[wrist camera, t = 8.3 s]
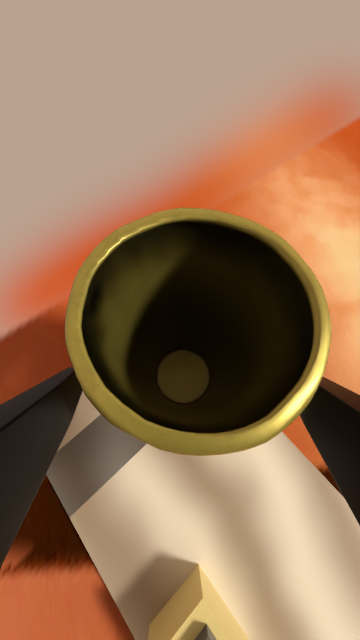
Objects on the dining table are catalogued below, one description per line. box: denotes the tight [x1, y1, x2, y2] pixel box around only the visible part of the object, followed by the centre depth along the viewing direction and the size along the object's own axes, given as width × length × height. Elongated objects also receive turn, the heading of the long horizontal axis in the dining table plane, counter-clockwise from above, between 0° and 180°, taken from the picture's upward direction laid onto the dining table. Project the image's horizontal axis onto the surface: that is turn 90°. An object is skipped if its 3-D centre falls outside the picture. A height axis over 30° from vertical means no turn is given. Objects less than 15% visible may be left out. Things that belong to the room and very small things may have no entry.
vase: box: [65, 208, 331, 456], centre depth 11 cm, size 6×6×14 cm
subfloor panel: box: [46, 391, 360, 640], centre depth 15 cm, size 15×24×1 cm, turn 41°
